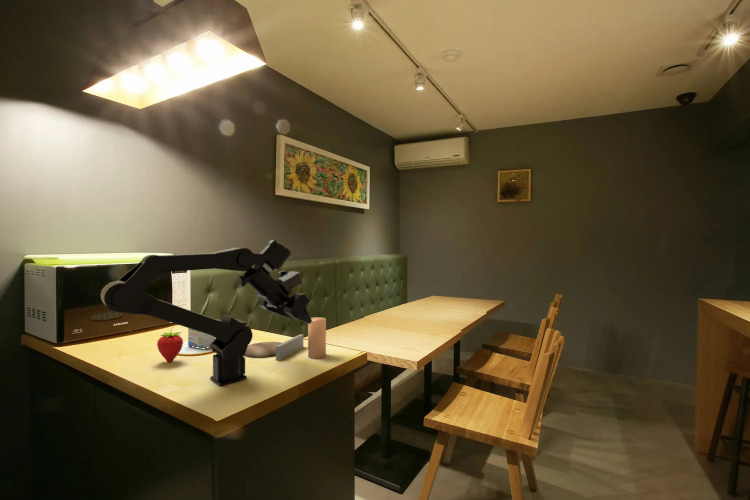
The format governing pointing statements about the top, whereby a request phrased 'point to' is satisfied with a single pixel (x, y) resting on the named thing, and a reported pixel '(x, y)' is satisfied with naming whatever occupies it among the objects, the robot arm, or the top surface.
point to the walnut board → (262, 349)
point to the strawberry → (170, 345)
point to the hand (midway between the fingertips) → (301, 319)
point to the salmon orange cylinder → (317, 338)
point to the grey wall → (289, 347)
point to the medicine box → (199, 339)
